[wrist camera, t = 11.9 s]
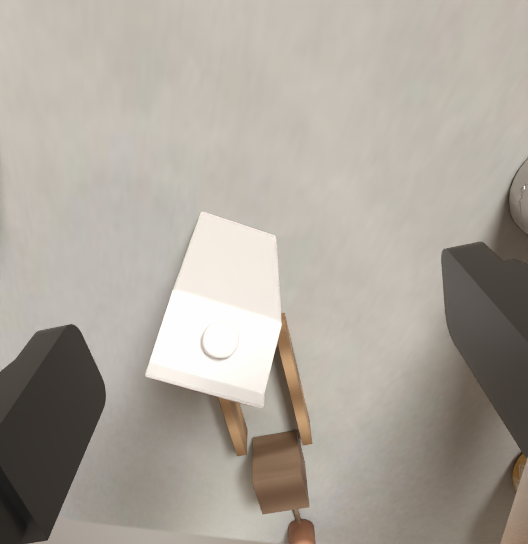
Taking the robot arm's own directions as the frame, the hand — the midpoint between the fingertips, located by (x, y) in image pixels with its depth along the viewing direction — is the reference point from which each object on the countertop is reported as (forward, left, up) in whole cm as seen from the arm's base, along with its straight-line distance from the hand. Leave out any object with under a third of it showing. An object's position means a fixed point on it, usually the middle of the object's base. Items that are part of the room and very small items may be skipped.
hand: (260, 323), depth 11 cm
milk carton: (+6, +12, -32) cm, 35 cm away
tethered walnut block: (+6, +43, -32) cm, 54 cm away
